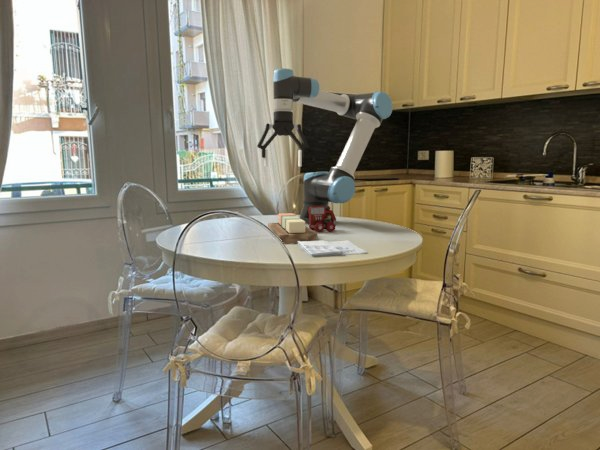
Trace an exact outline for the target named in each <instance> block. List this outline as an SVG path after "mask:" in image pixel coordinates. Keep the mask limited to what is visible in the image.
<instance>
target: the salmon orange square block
mask: <svg viewBox="0 0 600 450" xmlns="http://www.w3.org/2000/svg"><path fill="white" fill-rule="evenodd" d="M282 216H297V215H296V214H295V213H294V212H293V213H292V212H291V213H290V212H289V213H288V212H287V213H284V212H283V213H278V216H277V217H278V221H277V222H278V223H279V224H280V225H281V226H282Z"/></svg>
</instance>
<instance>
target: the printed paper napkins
mask: <svg viewBox="0 0 600 450" xmlns="http://www.w3.org/2000/svg"><path fill="white" fill-rule="evenodd" d="M297 245H298V246H299V247H300V248H301V249H302V250H303V251H305V252H306V253H307V254H308V255H309V256H310V257H330V256H346V255H347V256H349V255H350V256H351V255H367V254H368V251H367V250H365V249H362V248H361V247H359V246H358V245H357V244H354V243H353V242H352V241H350V240H349V239H347V240H340V241H337V240H336V241H334V240H333V241H327V240H324V239H321V240H320V239H319V240H317V241H302V242H301V241H298V243H297Z"/></svg>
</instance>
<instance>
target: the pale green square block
mask: <svg viewBox="0 0 600 450" xmlns="http://www.w3.org/2000/svg"><path fill="white" fill-rule="evenodd" d="M299 217H300V216H297V215H296V216H282V227H283V228H284V229H286V220H291V219H300V218H299Z"/></svg>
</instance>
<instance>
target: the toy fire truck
mask: <svg viewBox="0 0 600 450" xmlns="http://www.w3.org/2000/svg"><path fill="white" fill-rule="evenodd" d="M308 213H309V224H308V228H310V229H311V230H313V231H314V232H315V233H317V234H318V233H323V231H324V230H325V231H327V232H329V233H332V232H334V231H335V230H336V226H337V217H336V215H335V213H334V211H333V210H332V209H331V207H330V206H329V205H328V206H326V207H309V209H308ZM330 219H331V220H330Z"/></svg>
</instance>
